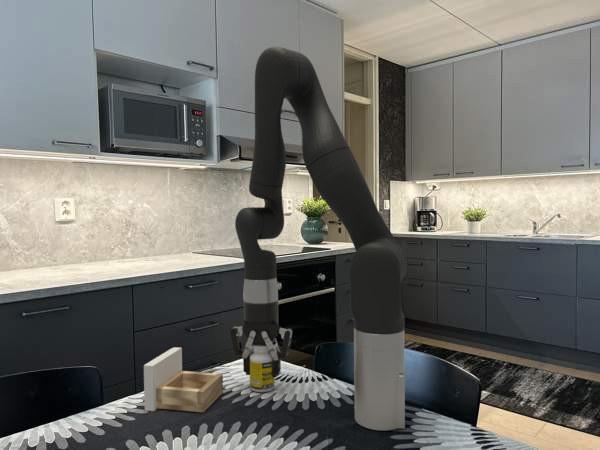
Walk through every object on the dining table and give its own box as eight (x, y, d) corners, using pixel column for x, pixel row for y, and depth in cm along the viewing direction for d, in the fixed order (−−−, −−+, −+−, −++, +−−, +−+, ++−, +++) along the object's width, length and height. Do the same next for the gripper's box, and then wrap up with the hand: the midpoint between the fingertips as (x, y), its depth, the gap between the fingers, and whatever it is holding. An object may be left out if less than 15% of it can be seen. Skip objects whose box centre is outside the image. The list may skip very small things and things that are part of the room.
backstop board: (182, 387, 102) (181, 347, 101) (153, 411, 90) (152, 366, 90) (174, 387, 102) (173, 347, 102) (144, 410, 90) (143, 365, 90)
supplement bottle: (263, 395, 97) (262, 349, 97) (244, 389, 100) (243, 345, 100) (279, 387, 101) (278, 343, 101) (261, 381, 105) (260, 339, 104)
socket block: (223, 392, 98) (222, 373, 98) (203, 412, 89) (203, 392, 89) (180, 388, 101) (180, 370, 101) (156, 408, 91) (156, 388, 91)
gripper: (296, 296, 102) (297, 371, 103) (235, 294, 105) (237, 367, 106) (288, 303, 95) (289, 383, 95) (223, 300, 98) (224, 378, 99)
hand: (261, 374), depth 101 cm, fingers closed on supplement bottle, 5 cm apart
